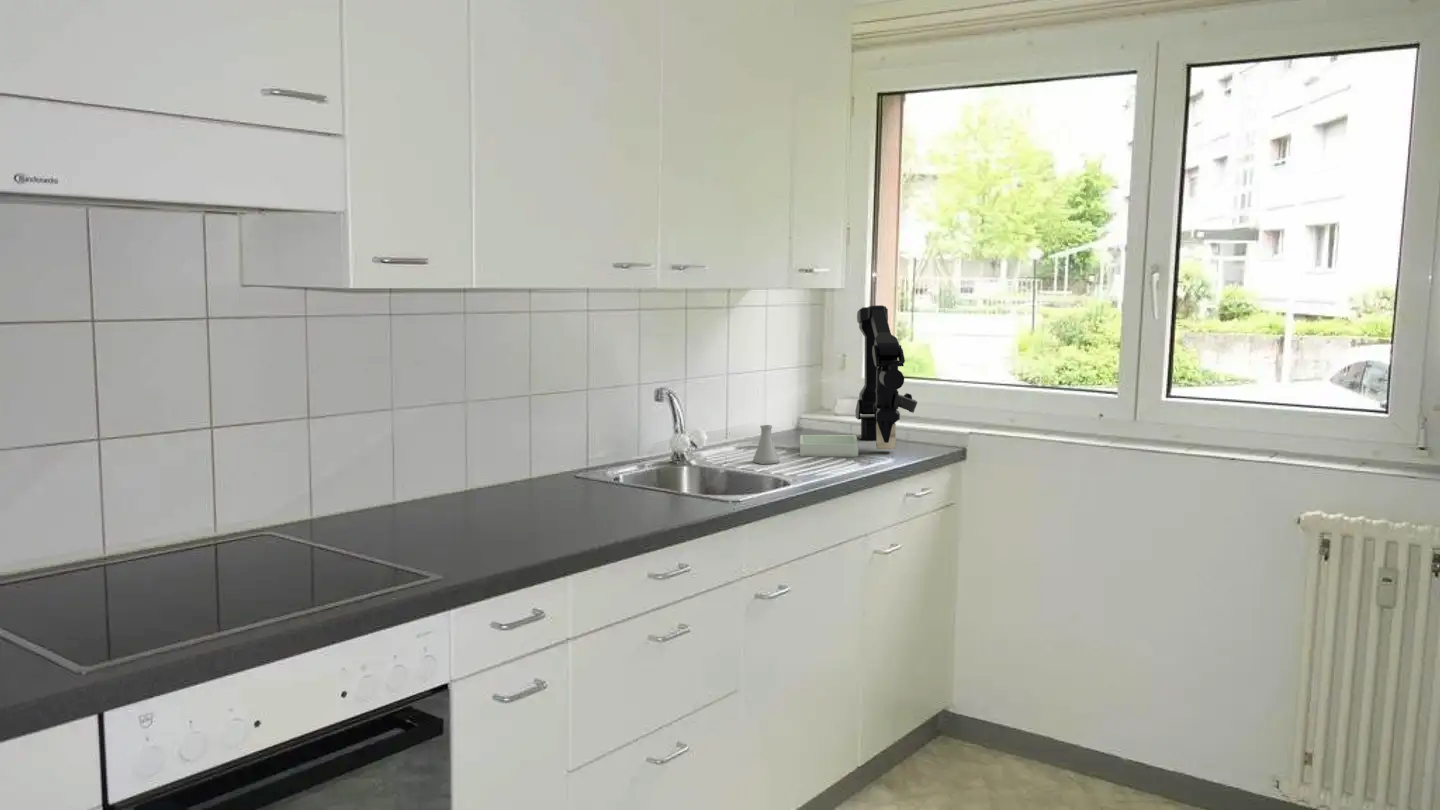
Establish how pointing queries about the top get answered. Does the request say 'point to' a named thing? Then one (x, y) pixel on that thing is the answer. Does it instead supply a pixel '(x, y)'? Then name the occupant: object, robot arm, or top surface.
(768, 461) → the flask
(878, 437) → the birch block
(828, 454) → the sage bin
